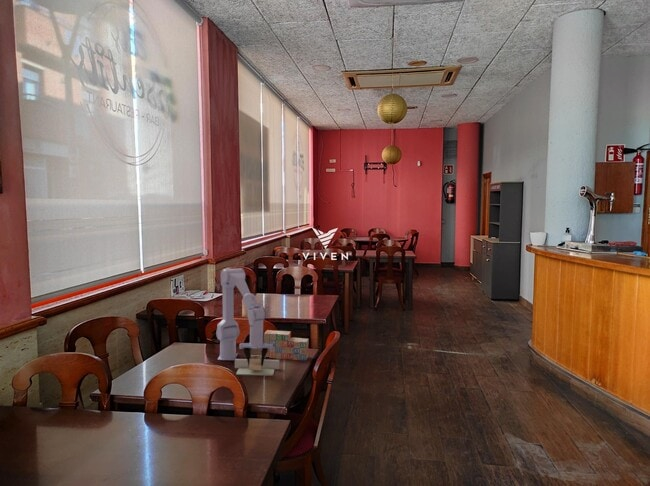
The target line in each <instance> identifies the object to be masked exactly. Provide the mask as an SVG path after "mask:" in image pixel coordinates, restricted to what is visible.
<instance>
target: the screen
mask: <svg viewBox="0 0 650 486" xmlns="http://www.w3.org/2000/svg"><path fill="white" fill-rule="evenodd" d="M239 368H249V365H248V361H247V358H235V360H234V369H239ZM261 369H274V370H280V359H264V362H263V366H262V368H261Z"/></svg>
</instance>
